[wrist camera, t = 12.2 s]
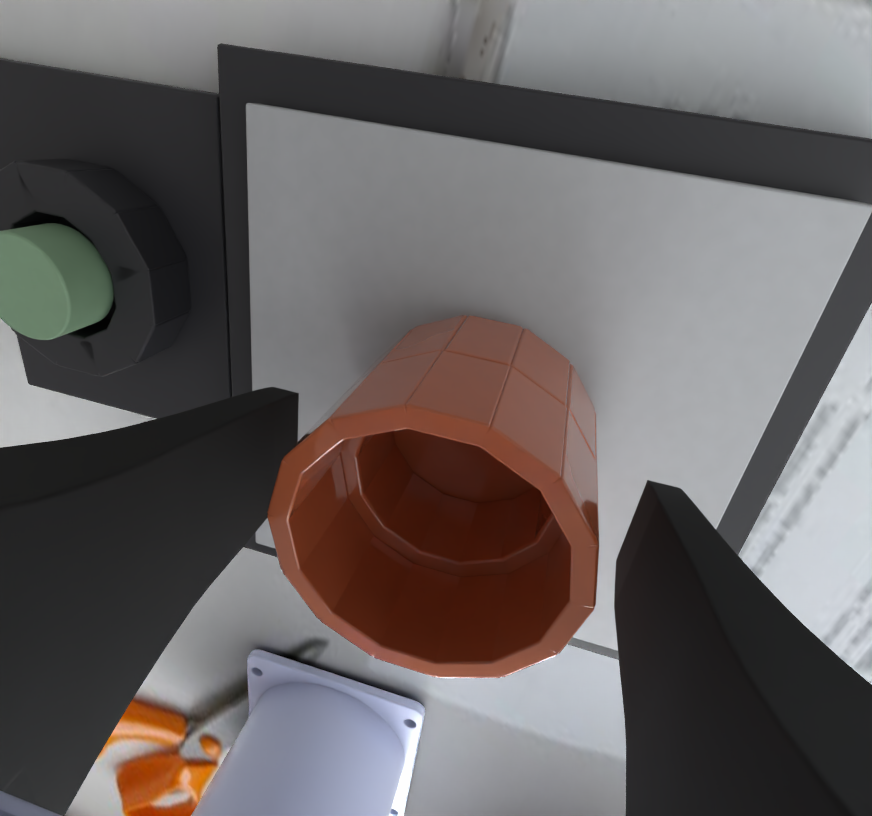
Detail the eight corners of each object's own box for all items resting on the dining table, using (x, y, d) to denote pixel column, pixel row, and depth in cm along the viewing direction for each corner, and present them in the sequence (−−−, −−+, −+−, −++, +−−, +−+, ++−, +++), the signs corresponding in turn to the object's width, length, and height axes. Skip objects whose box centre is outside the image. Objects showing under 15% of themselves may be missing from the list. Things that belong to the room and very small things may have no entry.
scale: (664, 614, 18) (677, 695, 15) (274, 503, 20) (227, 558, 18) (887, 148, 11) (976, 151, 9) (273, 56, 14) (197, 37, 11)
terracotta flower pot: (565, 536, 14) (553, 716, 10) (361, 481, 15) (267, 625, 11) (628, 339, 11) (651, 464, 7) (378, 287, 12) (264, 370, 8)
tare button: (121, 333, 16) (78, 351, 14) (38, 312, 16) (-12, 328, 15) (107, 233, 14) (57, 243, 13) (17, 214, 15) (-40, 221, 14)
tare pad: (247, 427, 19) (202, 465, 17) (49, 374, 20) (-17, 404, 18) (238, 96, 14) (173, 89, 12) (-20, 54, 15) (-120, 41, 13)
